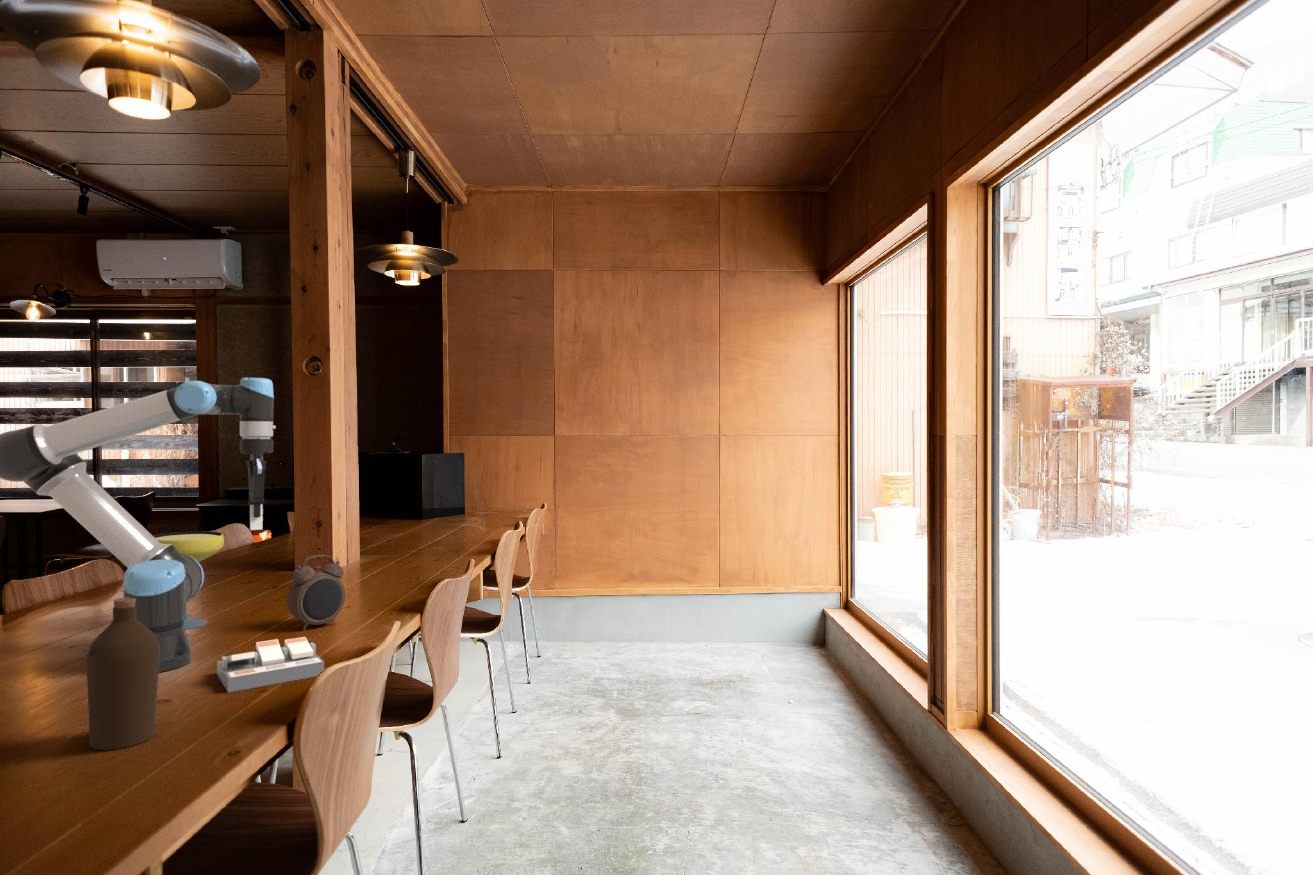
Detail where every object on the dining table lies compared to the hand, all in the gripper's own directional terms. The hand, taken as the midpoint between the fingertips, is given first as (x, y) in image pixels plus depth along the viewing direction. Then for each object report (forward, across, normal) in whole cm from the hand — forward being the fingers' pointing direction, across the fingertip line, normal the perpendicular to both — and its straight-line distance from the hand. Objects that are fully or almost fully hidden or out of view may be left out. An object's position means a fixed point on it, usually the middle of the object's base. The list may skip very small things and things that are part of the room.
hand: (256, 529), depth 187 cm
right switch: (+25, -28, -6) cm, 37 cm away
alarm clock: (+30, +8, -16) cm, 35 cm away
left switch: (+25, -28, +6) cm, 38 cm away
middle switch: (+25, -28, 0) cm, 37 cm away
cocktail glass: (+29, +28, +14) cm, 43 cm away
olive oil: (+29, -53, +27) cm, 66 cm away
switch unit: (+29, -29, 0) cm, 41 cm away
